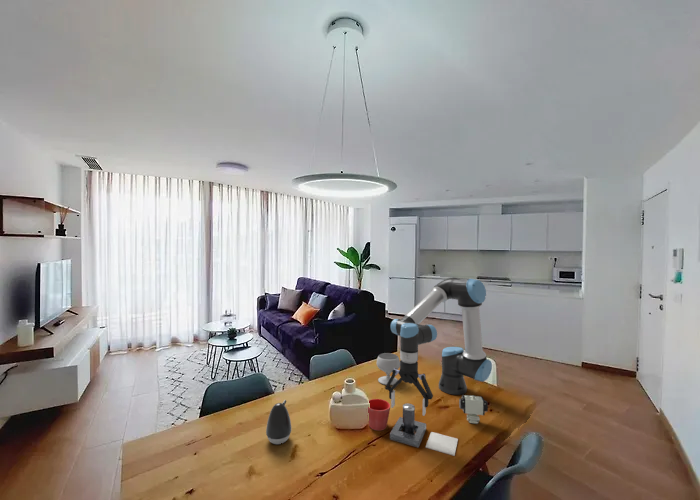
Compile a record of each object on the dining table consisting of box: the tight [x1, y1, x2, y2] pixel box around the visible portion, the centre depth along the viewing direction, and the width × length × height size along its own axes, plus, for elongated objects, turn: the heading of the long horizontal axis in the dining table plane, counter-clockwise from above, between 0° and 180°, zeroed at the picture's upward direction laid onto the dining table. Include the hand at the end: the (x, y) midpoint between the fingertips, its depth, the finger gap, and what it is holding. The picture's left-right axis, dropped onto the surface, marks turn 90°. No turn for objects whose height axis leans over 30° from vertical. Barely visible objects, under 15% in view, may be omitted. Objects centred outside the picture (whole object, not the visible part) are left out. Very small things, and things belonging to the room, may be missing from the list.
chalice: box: [376, 352, 401, 386], centre depth 183 cm, size 14×14×15 cm
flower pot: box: [368, 398, 391, 432], centre depth 137 cm, size 11×11×10 cm
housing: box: [389, 416, 427, 448], centre depth 131 cm, size 14×12×2 cm
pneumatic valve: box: [458, 394, 489, 425], centre depth 141 cm, size 6×12×12 cm, turn 78°
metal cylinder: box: [402, 402, 416, 435], centre depth 131 cm, size 5×5×12 cm
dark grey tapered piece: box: [265, 399, 292, 445], centre depth 126 cm, size 10×10×15 cm
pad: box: [425, 431, 459, 457], centre depth 125 cm, size 11×11×1 cm
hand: (408, 410), depth 131 cm, fingers open, 13 cm apart
